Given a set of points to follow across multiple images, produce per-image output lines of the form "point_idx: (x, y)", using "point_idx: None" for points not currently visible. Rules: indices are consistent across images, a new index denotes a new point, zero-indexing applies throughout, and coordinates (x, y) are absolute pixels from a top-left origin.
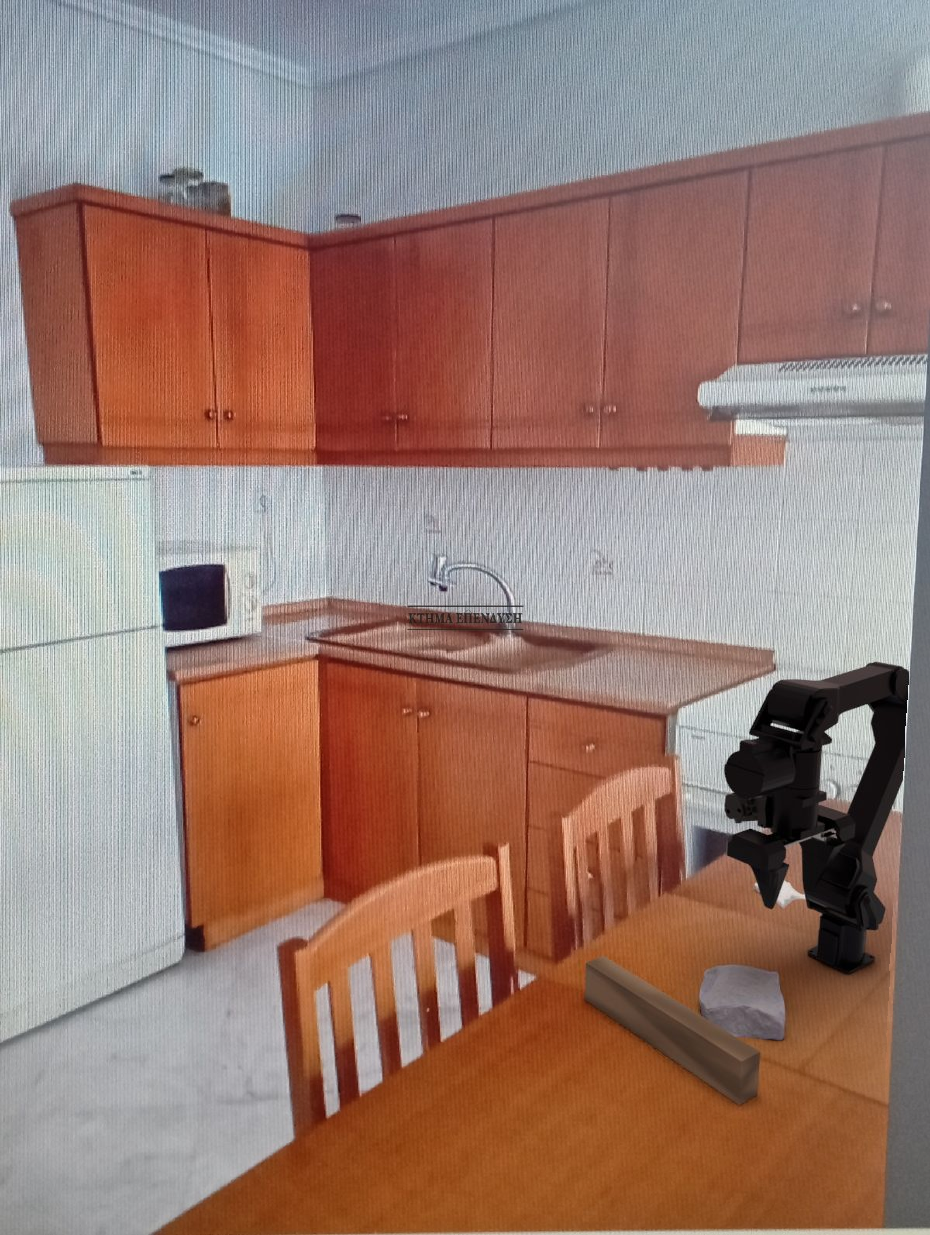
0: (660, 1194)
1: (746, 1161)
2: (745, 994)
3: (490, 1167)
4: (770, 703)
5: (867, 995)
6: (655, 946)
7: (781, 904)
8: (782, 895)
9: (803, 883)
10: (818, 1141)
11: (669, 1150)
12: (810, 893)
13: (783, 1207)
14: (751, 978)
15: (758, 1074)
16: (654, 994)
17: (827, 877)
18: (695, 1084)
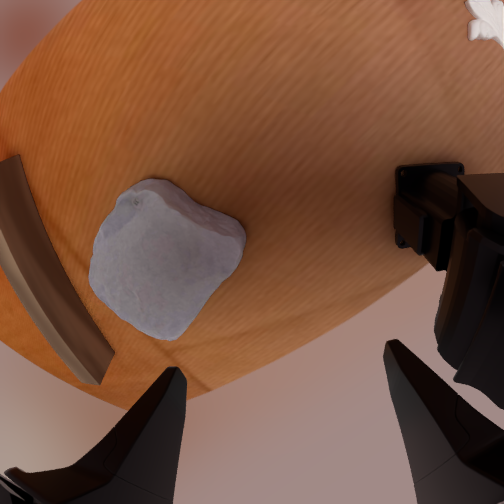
0: (45, 363)
1: None
2: (137, 298)
3: None
4: None
5: (368, 291)
6: (135, 29)
7: (470, 34)
8: (483, 27)
9: (393, 358)
10: (140, 390)
11: (49, 350)
12: (456, 249)
13: (100, 396)
14: (177, 261)
15: (107, 367)
16: (17, 279)
17: (482, 337)
18: None
